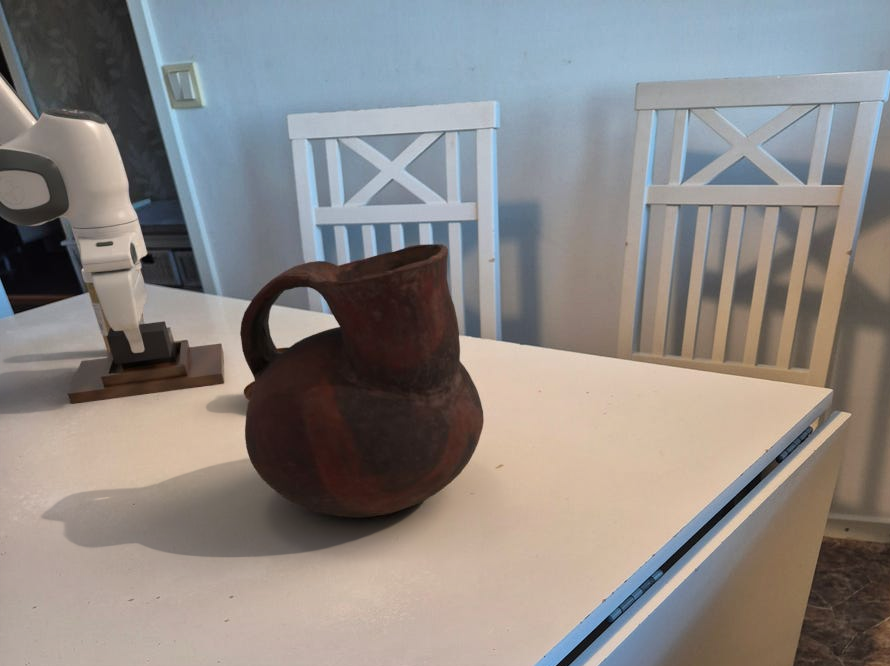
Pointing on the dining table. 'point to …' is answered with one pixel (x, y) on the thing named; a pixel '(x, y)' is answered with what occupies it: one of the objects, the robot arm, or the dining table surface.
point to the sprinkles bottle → (97, 308)
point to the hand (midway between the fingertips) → (140, 345)
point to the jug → (363, 388)
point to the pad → (153, 340)
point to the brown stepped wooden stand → (149, 373)
